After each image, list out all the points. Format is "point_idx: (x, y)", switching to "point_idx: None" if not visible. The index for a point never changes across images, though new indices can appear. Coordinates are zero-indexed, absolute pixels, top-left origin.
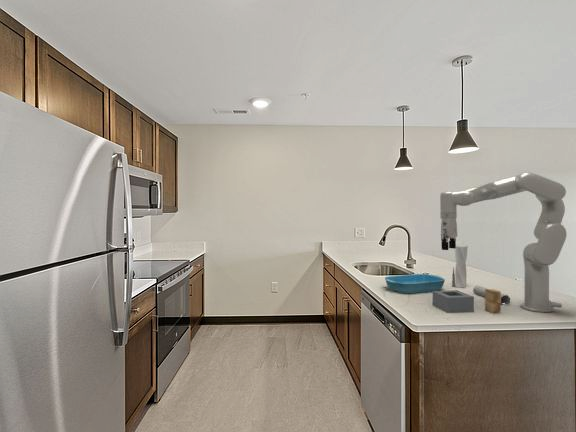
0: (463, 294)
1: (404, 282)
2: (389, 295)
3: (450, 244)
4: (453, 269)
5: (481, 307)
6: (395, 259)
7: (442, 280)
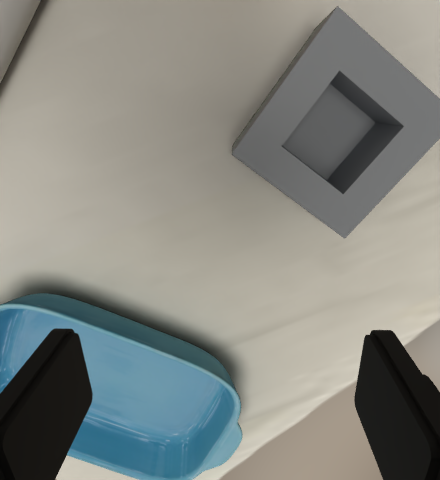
0: (316, 81)
1: (95, 422)
2: (292, 385)
3: (64, 433)
4: None
5: (206, 27)
6: None
7: (30, 306)
